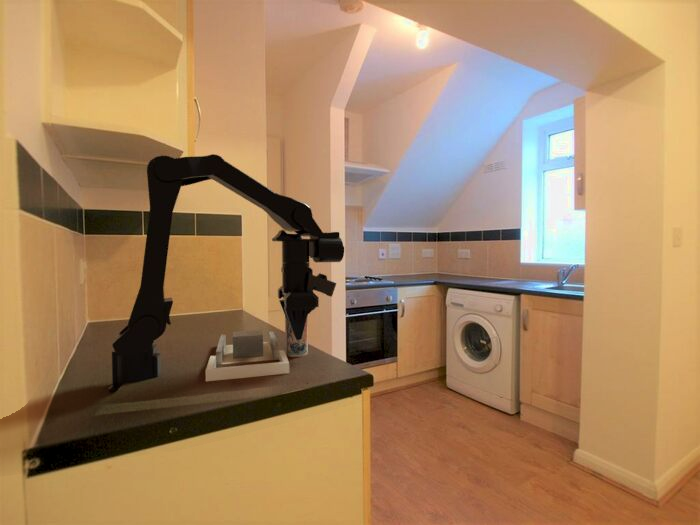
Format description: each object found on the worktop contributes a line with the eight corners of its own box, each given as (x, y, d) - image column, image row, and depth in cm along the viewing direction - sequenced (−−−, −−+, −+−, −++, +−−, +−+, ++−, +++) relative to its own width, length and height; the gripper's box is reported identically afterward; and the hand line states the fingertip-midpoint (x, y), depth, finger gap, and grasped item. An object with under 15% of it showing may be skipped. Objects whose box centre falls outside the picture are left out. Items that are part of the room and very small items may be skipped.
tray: (205, 388, 60) (205, 370, 60) (210, 371, 68) (210, 355, 68) (289, 379, 64) (289, 362, 64) (284, 364, 72) (283, 349, 72)
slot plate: (216, 370, 69) (215, 351, 69) (221, 350, 83) (221, 334, 83) (279, 365, 72) (278, 346, 72) (273, 346, 87) (273, 331, 86)
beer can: (286, 363, 73) (286, 305, 73) (284, 357, 78) (283, 302, 77) (309, 361, 75) (309, 304, 74) (306, 355, 79) (305, 301, 79)
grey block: (232, 358, 72) (232, 336, 72) (233, 352, 77) (233, 331, 77) (263, 356, 74) (262, 334, 74) (262, 350, 79) (261, 330, 79)
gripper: (344, 263, 69) (344, 343, 69) (323, 261, 87) (323, 325, 87) (286, 264, 66) (286, 348, 66) (277, 262, 84) (277, 328, 84)
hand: (296, 335), depth 76 cm, fingers open, 7 cm apart
